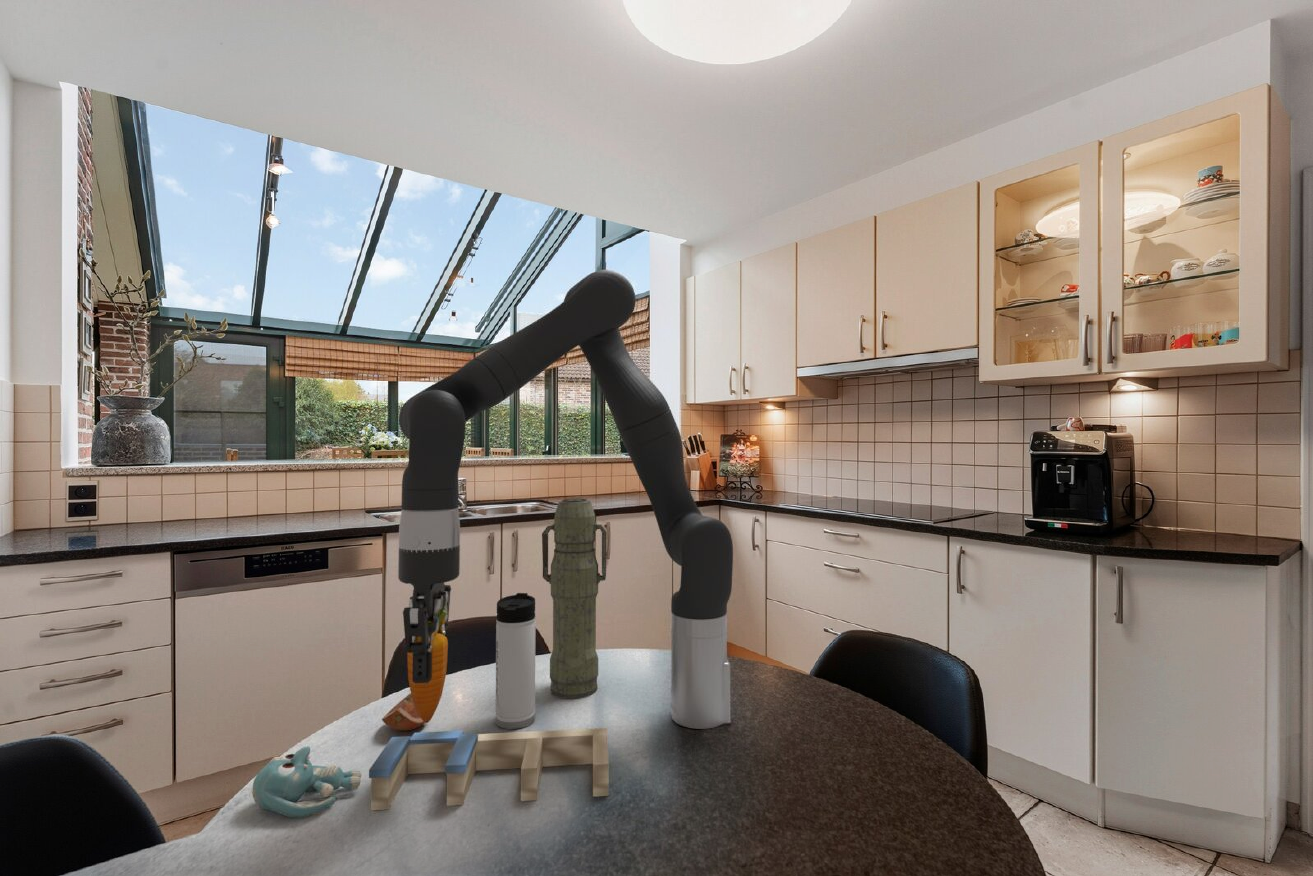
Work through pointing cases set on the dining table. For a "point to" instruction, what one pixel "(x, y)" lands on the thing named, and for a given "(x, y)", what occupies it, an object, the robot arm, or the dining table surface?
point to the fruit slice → (403, 715)
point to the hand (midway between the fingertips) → (427, 673)
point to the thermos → (574, 597)
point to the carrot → (431, 692)
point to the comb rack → (486, 759)
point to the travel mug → (515, 661)
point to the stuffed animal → (299, 784)
